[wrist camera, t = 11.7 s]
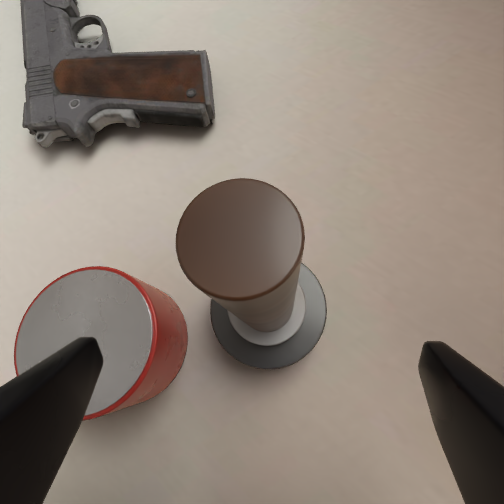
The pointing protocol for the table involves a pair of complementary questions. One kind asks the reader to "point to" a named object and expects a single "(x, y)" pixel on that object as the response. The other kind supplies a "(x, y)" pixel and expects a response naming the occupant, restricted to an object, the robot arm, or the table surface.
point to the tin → (107, 333)
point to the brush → (252, 272)
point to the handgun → (103, 79)
